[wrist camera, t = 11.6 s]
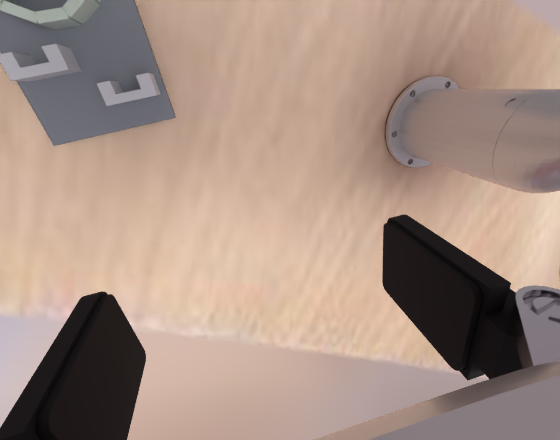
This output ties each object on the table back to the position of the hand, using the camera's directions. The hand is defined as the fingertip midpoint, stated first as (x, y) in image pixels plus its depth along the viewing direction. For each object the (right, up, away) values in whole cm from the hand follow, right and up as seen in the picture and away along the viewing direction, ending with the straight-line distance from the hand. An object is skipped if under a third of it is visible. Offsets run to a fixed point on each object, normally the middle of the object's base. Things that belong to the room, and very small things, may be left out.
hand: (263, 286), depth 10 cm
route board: (-20, +22, +17) cm, 34 cm away
